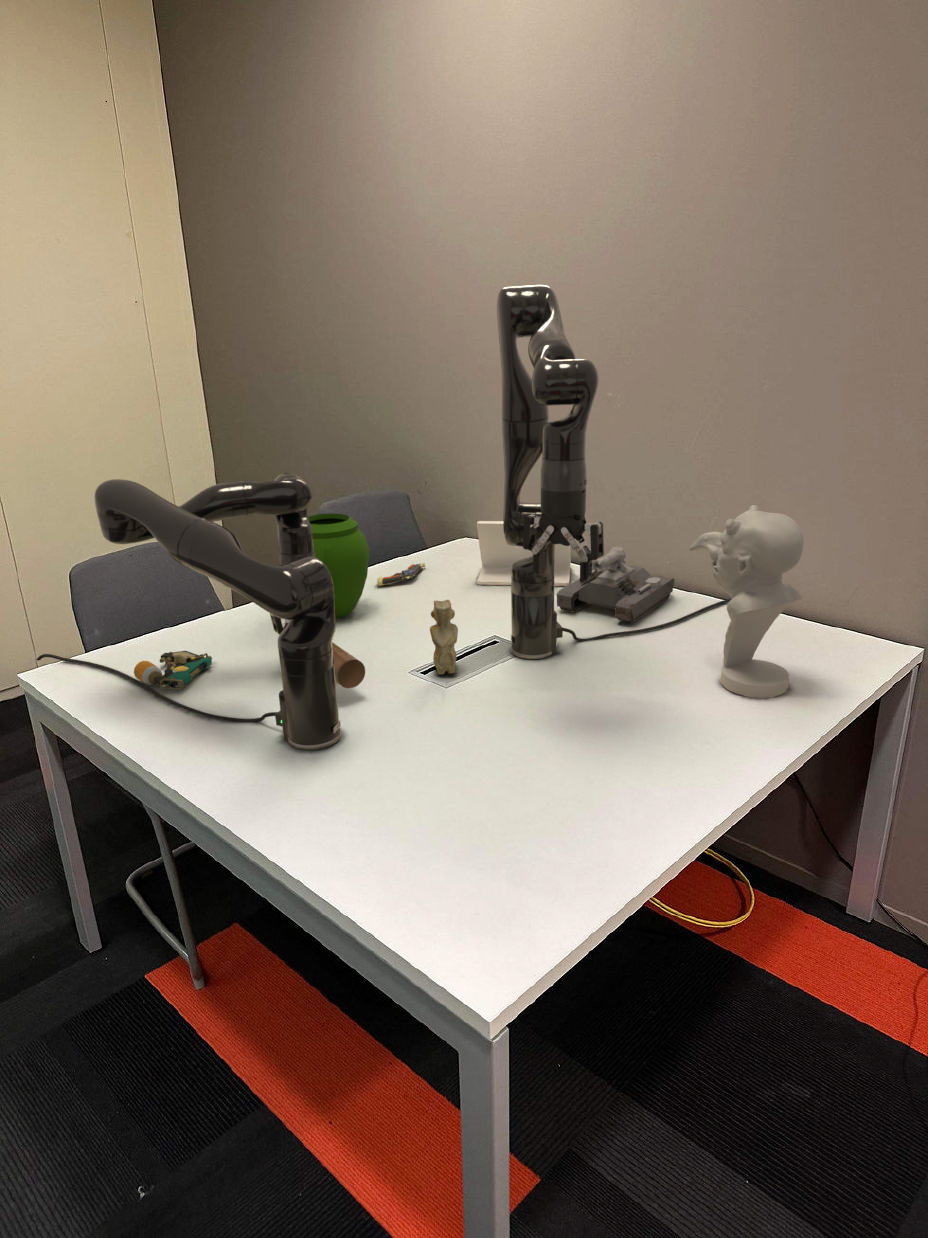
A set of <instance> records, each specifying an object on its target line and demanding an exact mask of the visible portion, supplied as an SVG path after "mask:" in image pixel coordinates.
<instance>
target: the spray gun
mask: <svg viewBox="0 0 928 1238" xmlns="http://www.w3.org/2000/svg"><path fill="white" fill-rule="evenodd" d="M212 660H213V657H212V656H211V655H208V653H207V652H205V653H201V654H197V653H194V652H192V651H191V652H190V651H188V650H180V651H169V652H164V653H162V654H161V655H160V658H159V660H158V662H159V663H161V664H163V663H165V664H166V668H165V670H163V672H164V674H163V673H162V669H160V668H159V666H157V665H156V664H154V663H152V662H151V661H149V660H141V661H139V662H138V663H136V665H135V666H134V668H133V675H134V677H135V679H136V680H138V681H140V682H141V683H143V684H145V685H146V686H155V685H157V686H158V687H160V688H161V689H171V690H172V689H173V690H182V689H184V687H185V686H186V685H188V684H189V683H190V682H191V681H192V679H193V678H195V677H196V676H197V675H198V674H200V673H201V672H202V671H203V670H206V669H208V668H209V667H210V666H211V665H212V662H213V661H212ZM178 663H179V664H181V665H179V666H176V665H177V664H178Z"/></svg>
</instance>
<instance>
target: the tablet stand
mask: <svg viewBox="0 0 928 1238" xmlns="http://www.w3.org/2000/svg"><path fill="white" fill-rule="evenodd" d="M476 531H477V537H478V544H479V551H480V557H481V558H480V559H481V570H480V573H479V575H478V577H477V580H476V581H477V582H476V584H478V585H484V586H485V585H486V586H487V585H489V586H490V585H491V586H511V567H512V565H513V563H515V562H516V561H518V560H521V559H524V558H527V557H530V556H532V555H533V553H532V552H531V551H530V550H528V549H527V550H525V549H524V548H523V547H519V546H510V545H508V544H507V543H506V541H505V537H504V530H503V520H477V522H476ZM571 560H572V558H571V545H569V546H564V545H561V544H555V555H554V587H556V586H557V587H566V586H567V585H569V584H570V580H571V579H570V578H571V565H572V564H571Z"/></svg>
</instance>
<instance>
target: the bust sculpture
mask: <svg viewBox="0 0 928 1238" xmlns="http://www.w3.org/2000/svg"><path fill="white" fill-rule="evenodd" d="M724 526H725V527H724V528H725V529H724V531H723V532H719V531H708V532H705V533H703V534H701V535H699V537H698V538H696V540H695V541H694V542H693V543H692V544H691V545H690V546H689V548H688V550H689V551H690V552H694V551H699V550H702V549H703V550H708V555H709V557H710V559H711V560H712V563H710V570H711V572H712V575H713V578H714V579H715V581H716V583H717V585H718V586H719V587H720V589H722V591H724V592H726V593H727V595H728V596H730V597H731V598H730V599H731V600H730V601H729V602H727V605H726V612H727V614H728V617H729V620H730V621H729V625H728V626H727V630H726V632H725V635H724V637H725V638H724V643H723V663H722V664H723V665H722V666H721V669H720V684H721V685H722V687H724V688H725V689H726V690H727V691H730V692H731V693H734V694H737V695H740V696H745V697H750V698H765V699H766V698H773V697H774V698H775V697H778V696H781V695H783V694H785V693H786V692H787V691H788V688H789V681H790V674H789V671H788V670H787V669H786V668H784V667H783V666H781V665H779V664H777V663H774V662H771V661H768V660H762V659H755V658H754V656H755V653H756V651H757V649H758V647H759V646H760V643H761V642H762V640H763V638H764V637H765V635H766V634H767V632H768V631H769V629H770V628H771V626H773V623H774V622H775V621H776V619H777V618H778V617H779V616H780V615H781V614H782V613H783V612H785V610H786V609H787V608H788V607H790V606H791V605H793V604H794V603H795V602H796V601H799V600H801V599H803V597H802V595H801V594H800V592H799V590H798V589H797V588H796V587H795V586H794V585H792V584H790V583H784V582H783V581H782V580H783V574H786V573H787V572H789V571H791V570H792V569H793V568H794V567H796V565H797V564H798V563H799V562H800V560H801V558H802V555H803V550H804V535H803V531H802V529H801V527H800V526H799V524H798V523H797V522H796V521H795V520H794V519H792V517H790V516H788V515H787V514H784V513H777V512H766V511H762V510H761V509H760V508H759V506H758V505H757V504H755V505H750V507H749V508H748V510H746V511H744V512H743V513H740V515H738V516H737V517H735V519H733V518H729V519H727V520H726V521H725V524H724Z"/></svg>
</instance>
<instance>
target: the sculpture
mask: <svg viewBox="0 0 928 1238" xmlns="http://www.w3.org/2000/svg"><path fill="white" fill-rule="evenodd" d="M455 615H456V611H455V609H453V608H452V602H451V601H450V599H445V600H433V610H431V612H430V617H431V618H432V619H433V620H434V621H435V622H436V623H435V624H433V625H431V626H429V633H430V636H431V640H432V641H431V642H432V643H433V645H434V648H435V649H434V652H433V656H432V657H433V659H432V660H433V665H434V667H435V668H436V671H437V674H438V675H445V674H446V672H447V673H448V674H455V673H456V666H457V665H456V663H457V652H456V649H455V644H456V643H457V642H458V637H459V635H458V634H459V627H458V626H457V624H455V623H453V622H451V621H452V620H453V619H454V618H455Z"/></svg>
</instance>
